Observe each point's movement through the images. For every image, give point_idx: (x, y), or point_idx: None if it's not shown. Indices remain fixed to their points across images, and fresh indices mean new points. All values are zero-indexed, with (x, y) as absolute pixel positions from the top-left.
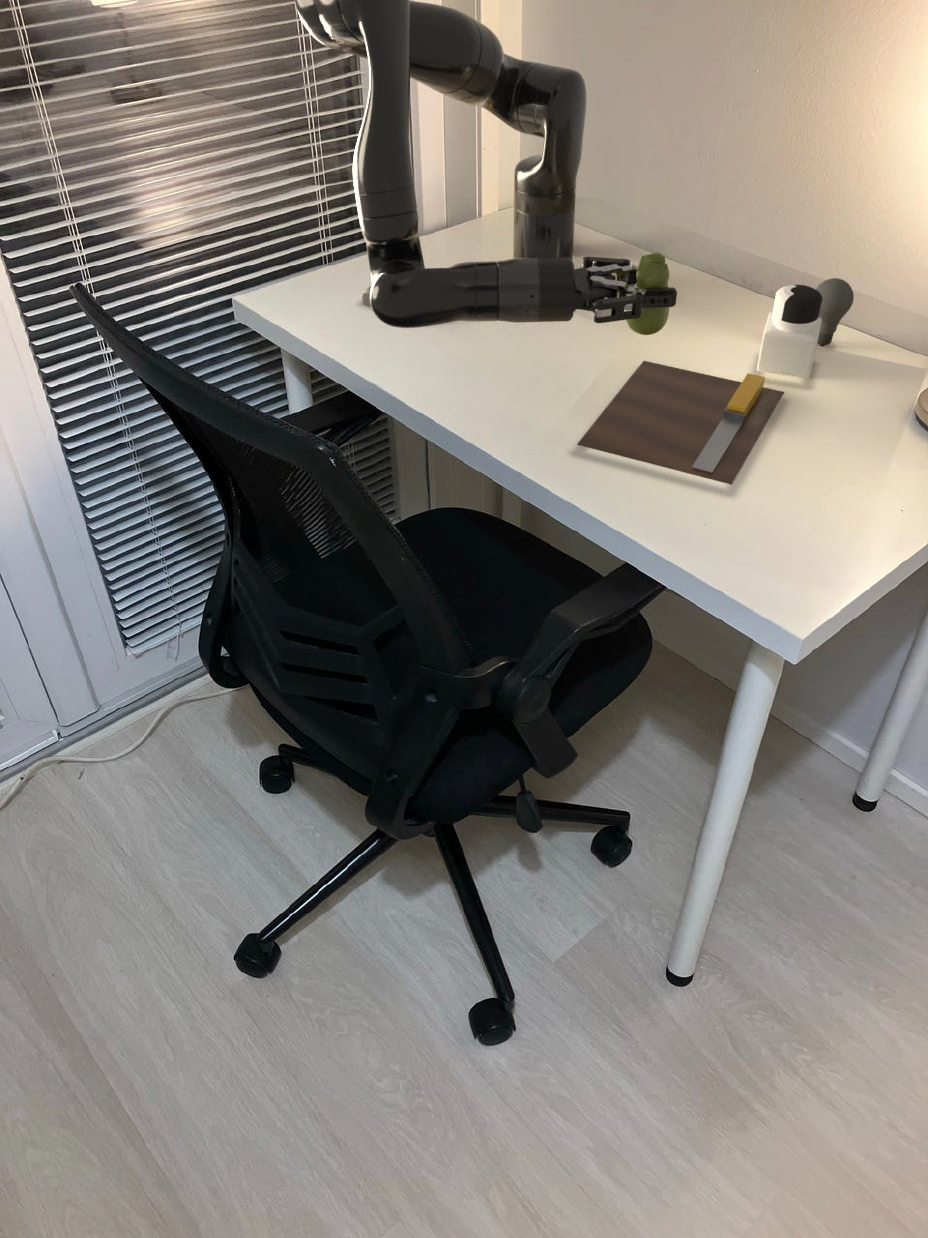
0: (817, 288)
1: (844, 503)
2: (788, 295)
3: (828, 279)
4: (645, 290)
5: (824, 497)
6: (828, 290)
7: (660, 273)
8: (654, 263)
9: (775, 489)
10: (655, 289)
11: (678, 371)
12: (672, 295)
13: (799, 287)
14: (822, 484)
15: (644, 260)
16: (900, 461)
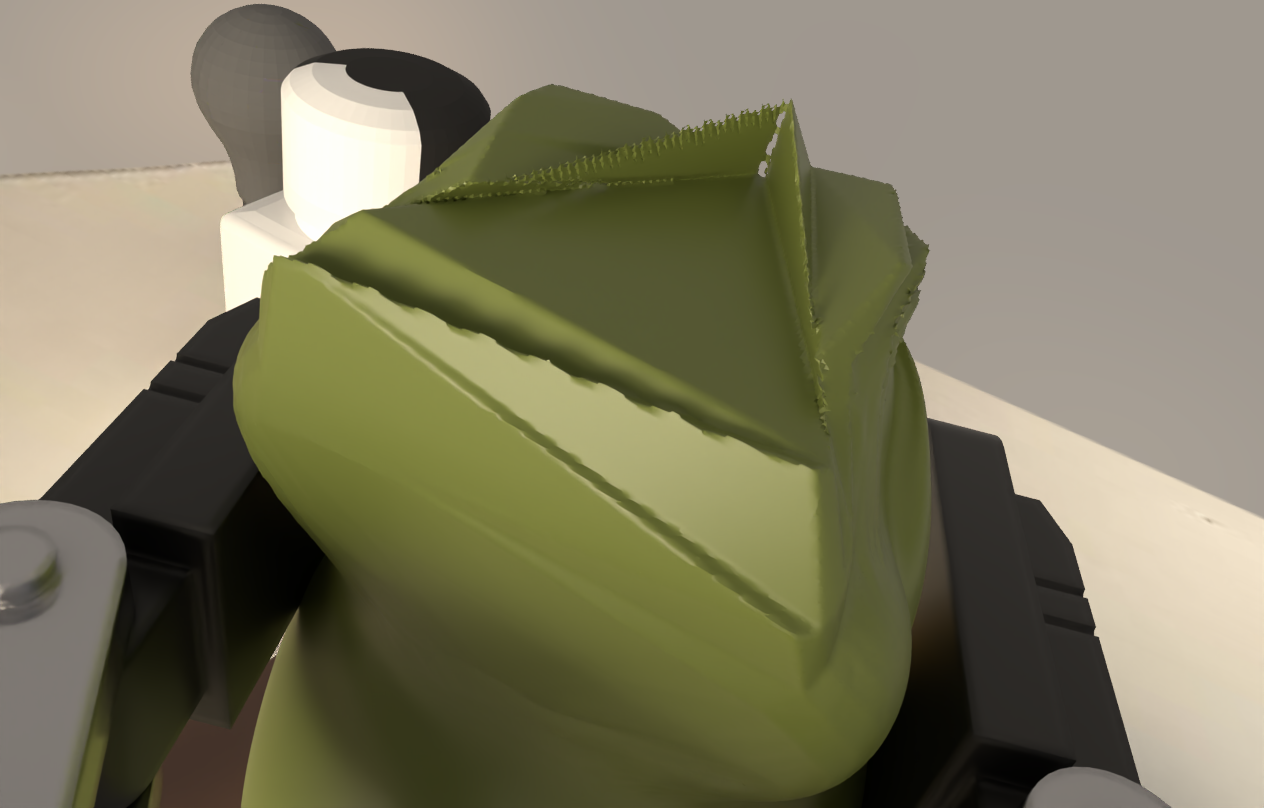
0: (226, 63)
1: (1212, 626)
2: (403, 109)
3: (231, 18)
4: (1116, 791)
5: (1192, 661)
6: (287, 54)
7: (909, 377)
8: (912, 286)
9: (1180, 789)
10: (1012, 625)
11: (204, 740)
12: (1036, 512)
13: (358, 63)
14: (1113, 630)
15: (672, 346)
16: (960, 408)
